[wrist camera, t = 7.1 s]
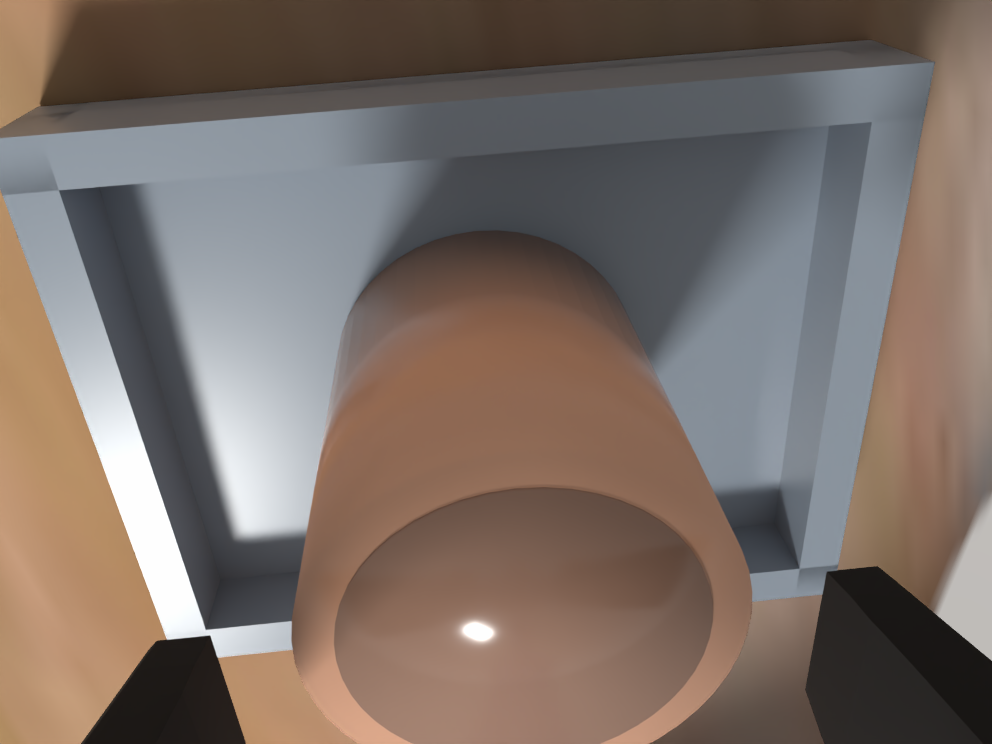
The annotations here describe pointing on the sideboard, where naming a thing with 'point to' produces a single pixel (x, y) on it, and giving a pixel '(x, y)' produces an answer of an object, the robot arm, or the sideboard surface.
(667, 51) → the sideboard surface
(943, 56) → the sideboard surface
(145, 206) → the tray
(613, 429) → the cup
